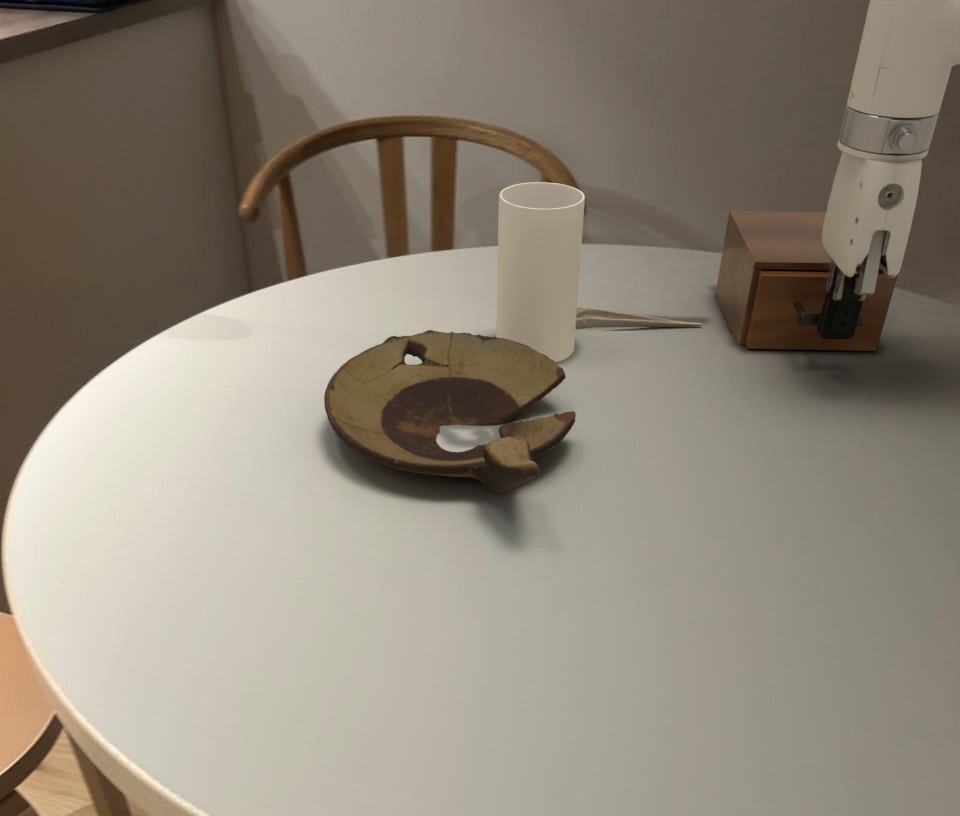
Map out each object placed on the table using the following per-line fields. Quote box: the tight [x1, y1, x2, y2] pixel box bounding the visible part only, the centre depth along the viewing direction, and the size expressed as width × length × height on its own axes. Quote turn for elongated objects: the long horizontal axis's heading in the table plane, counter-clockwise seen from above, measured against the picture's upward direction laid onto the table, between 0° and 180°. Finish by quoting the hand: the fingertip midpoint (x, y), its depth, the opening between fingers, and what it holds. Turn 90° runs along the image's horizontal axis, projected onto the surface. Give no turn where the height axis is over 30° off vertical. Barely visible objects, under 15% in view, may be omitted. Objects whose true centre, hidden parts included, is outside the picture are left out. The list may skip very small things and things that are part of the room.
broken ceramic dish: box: [323, 329, 577, 493], centre depth 87 cm, size 22×30×8 cm
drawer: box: [745, 269, 896, 352], centre depth 105 cm, size 19×13×8 cm
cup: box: [495, 181, 586, 363], centre depth 100 cm, size 8×8×16 cm
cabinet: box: [715, 210, 899, 349], centre depth 108 cm, size 16×15×10 cm
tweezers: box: [575, 306, 703, 330], centre depth 110 cm, size 17×5×2 cm, turn 91°
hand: (834, 335), depth 97 cm, fingers closed
